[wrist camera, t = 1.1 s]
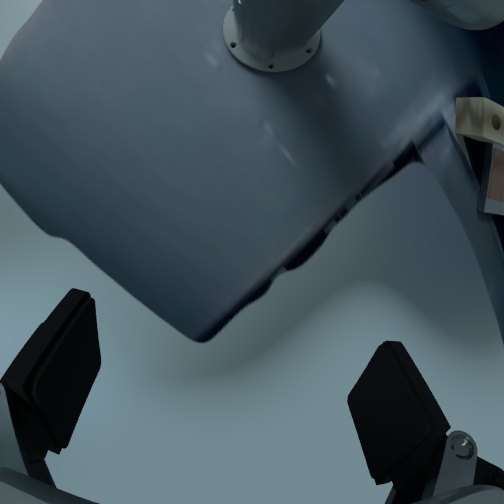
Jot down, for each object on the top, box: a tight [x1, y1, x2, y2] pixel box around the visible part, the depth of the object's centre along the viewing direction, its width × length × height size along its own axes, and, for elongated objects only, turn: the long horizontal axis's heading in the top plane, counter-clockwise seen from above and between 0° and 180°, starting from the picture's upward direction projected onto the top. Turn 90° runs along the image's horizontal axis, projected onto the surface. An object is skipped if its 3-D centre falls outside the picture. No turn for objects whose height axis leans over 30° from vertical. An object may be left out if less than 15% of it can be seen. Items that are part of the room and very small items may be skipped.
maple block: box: [455, 97, 504, 145], centre depth 32 cm, size 6×6×7 cm
